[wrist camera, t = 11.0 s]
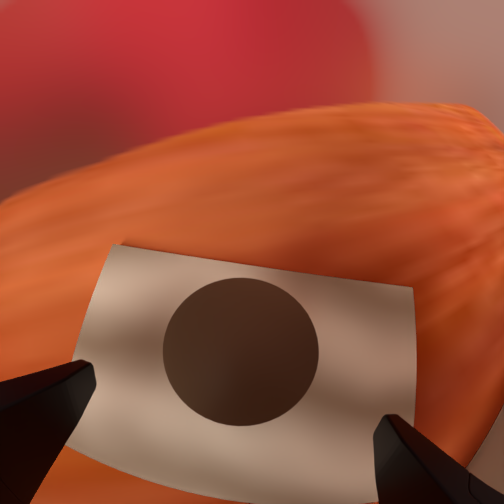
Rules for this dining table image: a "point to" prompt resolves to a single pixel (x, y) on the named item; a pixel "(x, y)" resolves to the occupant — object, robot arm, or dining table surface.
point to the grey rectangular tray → (491, 457)
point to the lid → (243, 377)
